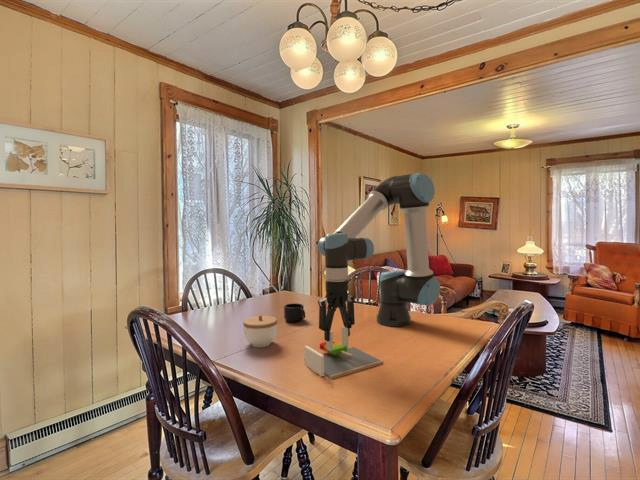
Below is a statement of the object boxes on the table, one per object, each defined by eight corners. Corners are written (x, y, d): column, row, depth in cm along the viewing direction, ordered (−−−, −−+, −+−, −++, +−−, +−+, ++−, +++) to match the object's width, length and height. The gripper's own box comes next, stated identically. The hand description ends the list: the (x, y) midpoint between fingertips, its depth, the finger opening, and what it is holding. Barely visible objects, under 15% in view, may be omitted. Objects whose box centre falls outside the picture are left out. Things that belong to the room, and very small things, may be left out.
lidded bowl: (241, 340, 135) (240, 312, 135) (273, 336, 140) (272, 309, 139) (246, 352, 124) (246, 321, 123) (281, 347, 128) (280, 317, 127)
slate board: (352, 348, 126) (352, 346, 126) (382, 363, 112) (382, 361, 112) (304, 360, 115) (304, 358, 115) (331, 378, 102) (331, 376, 102)
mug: (280, 320, 162) (280, 305, 162) (294, 316, 168) (294, 302, 168) (297, 326, 154) (297, 310, 153) (312, 321, 160) (312, 306, 160)
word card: (308, 363, 113) (307, 345, 112) (324, 375, 104) (324, 355, 104) (304, 364, 112) (304, 346, 112) (321, 376, 103) (321, 356, 103)
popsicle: (331, 345, 125) (330, 340, 125) (358, 356, 112) (358, 350, 112) (318, 348, 122) (318, 343, 122) (345, 360, 109) (344, 354, 109)
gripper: (352, 275, 124) (352, 339, 125) (306, 281, 114) (307, 350, 115) (365, 278, 118) (366, 345, 119) (318, 284, 108) (319, 357, 109)
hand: (337, 348), depth 117 cm, fingers closed on popsicle, 6 cm apart
